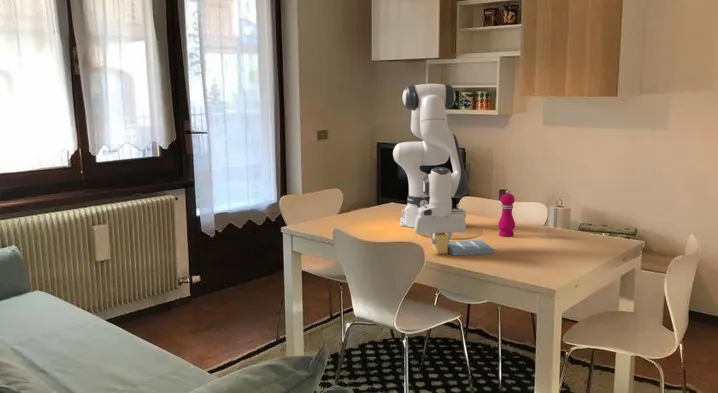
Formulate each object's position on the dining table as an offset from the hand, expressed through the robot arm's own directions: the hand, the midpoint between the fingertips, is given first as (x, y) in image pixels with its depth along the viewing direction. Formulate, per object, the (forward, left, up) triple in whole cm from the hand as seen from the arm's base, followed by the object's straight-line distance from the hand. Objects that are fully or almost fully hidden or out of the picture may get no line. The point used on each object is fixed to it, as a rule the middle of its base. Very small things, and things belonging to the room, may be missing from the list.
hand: (439, 243), depth 262 cm
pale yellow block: (0, 0, -3) cm, 3 cm away
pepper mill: (-21, +35, -3) cm, 41 cm away
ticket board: (0, +11, -3) cm, 12 cm away
